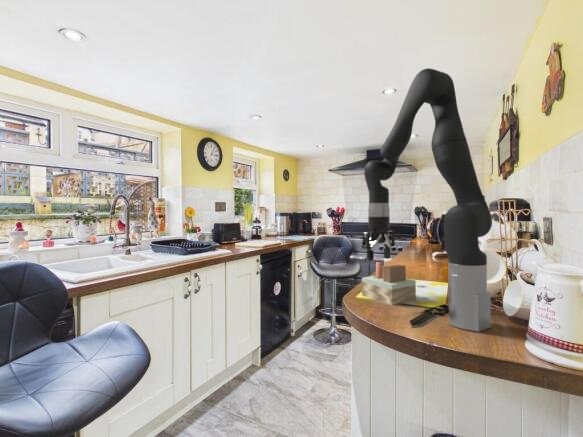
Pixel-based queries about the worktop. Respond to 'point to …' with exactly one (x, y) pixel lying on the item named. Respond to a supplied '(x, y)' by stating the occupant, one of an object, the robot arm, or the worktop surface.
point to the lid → (391, 278)
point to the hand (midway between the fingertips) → (378, 259)
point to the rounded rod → (379, 270)
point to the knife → (430, 317)
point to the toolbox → (389, 293)
